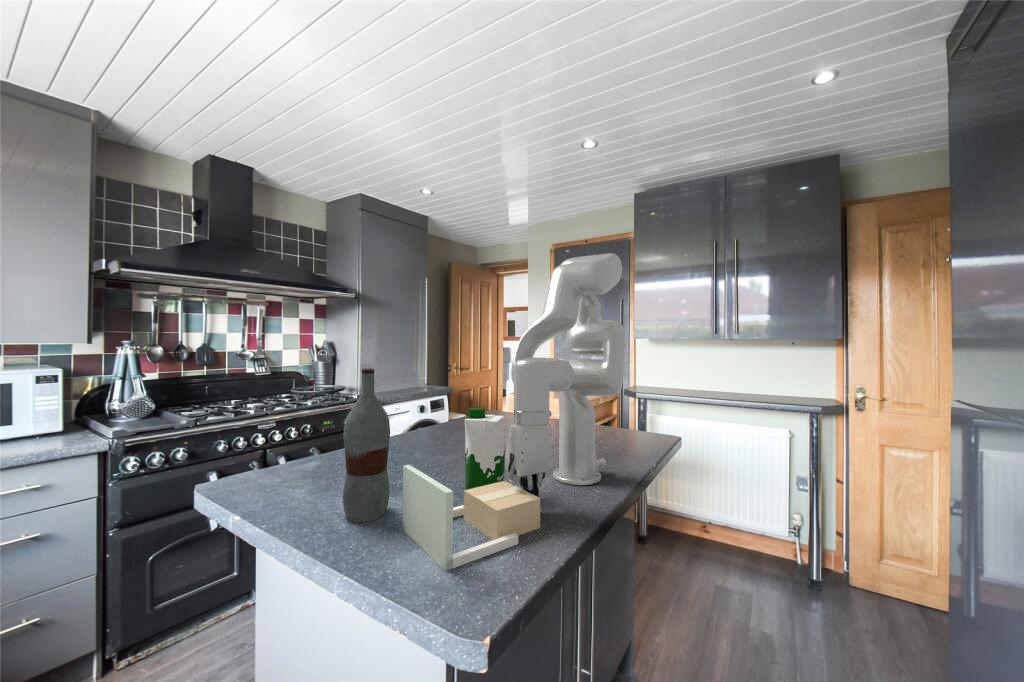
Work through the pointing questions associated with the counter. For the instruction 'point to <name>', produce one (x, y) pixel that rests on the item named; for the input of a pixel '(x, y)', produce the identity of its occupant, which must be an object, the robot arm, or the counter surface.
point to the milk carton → (484, 448)
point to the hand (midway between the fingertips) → (530, 506)
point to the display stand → (439, 521)
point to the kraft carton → (501, 509)
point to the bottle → (366, 456)
